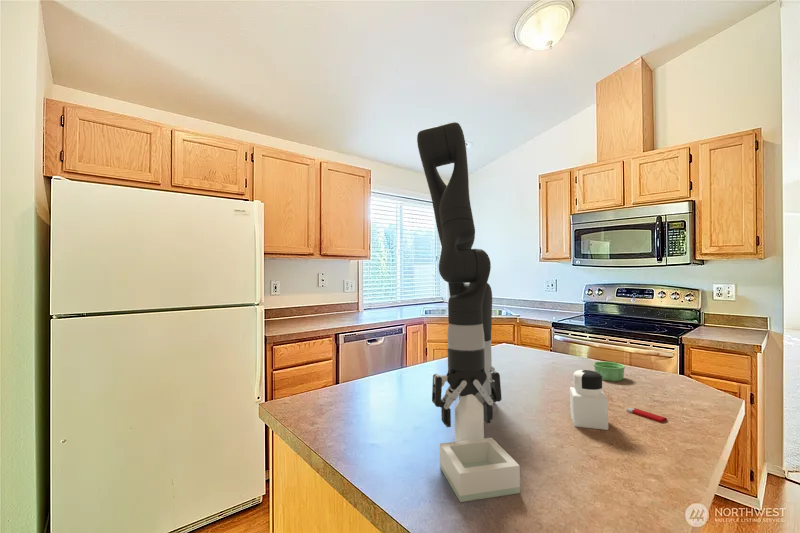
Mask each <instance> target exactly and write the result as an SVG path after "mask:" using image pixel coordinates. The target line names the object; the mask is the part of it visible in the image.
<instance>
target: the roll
mask: <svg viewBox="0 0 800 533" xmlns="http://www.w3.org/2000/svg"><path fill="white" fill-rule="evenodd" d="M484 423H485V421H484V409H483V405H482V403H480V401H478V399H477V398H476V397H475V396H474V395H473V394H471V395H466V396H461V398H460V400H459V399H458V401H457V403H456V405H455V408H454V438H455V439H454V440H455V441H454V442H458V441H466V440H475V439H483V438H485V430H484V428H485V427H484V426H485V425H484Z"/></svg>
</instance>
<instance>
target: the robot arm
mask: <svg viewBox="0 0 800 533" xmlns="http://www.w3.org/2000/svg"><path fill="white" fill-rule="evenodd" d="M416 140H417V141H416V142H417V143H416V144H417V148H418V153H419V157H420V161H421V164H422V167H423V168H422V169H423V172H424V176H425V179H426V182H427V186H428V189H429V193H430V194H429V195H430V197H431V198H430V199H431V202H432V207H433V212H434V218H435V224H436V228H437V233H438V238H439V241H440V245H441V248H440V250H441V251H440V254H439V256H440V257H439V262H438V273H439V275H440V277H441V278H442V280H443V281H445V282H446V283H448V290H449V291H448V292H449V298H448V302H447V306H448V307H447V310H448V312H447V313H448V317H447V318H448V321H447V322H448V325H447V334H446V336H447V339H446V340H447V373H446V375H445V374H443V375H442V374H441V375H440V374H438V373H434V374H433V375H432V389H431V390H432V391H431V401H432V403H433V404H434V406H436V407H437V408H439V407H440V408H441V411H440V412H441V415H440V416H441V422H442V423H443V425H445V427H446V428H451V426H452V421H451V420H452V419H451V418H452V415H451V414H452V412H451V408H450V407H452V406H451V405H453V403H454V401H456V400H457V398H458V401H459V400H460V398H461V396H466V395H471V394H473V395H474V396H475V397H476V398H477V399H478V401H480V403H482V405H483V409H484V423H485V424H490V423H491V421H492V420H493V417H494V411H493V409H494V408H493V405H494V404H495V403H496V402H501V401H502V389H501V388H502V387H501V374H500V373H499V372H498V371H496V370H495V367H494V366H493V365H492V361H493V360H492V359H493V358H492V357H493V355H492V354H493V353H492V327H493V326H492V325H493V324H492V323H493V321H492V320H493V318H492V315H493V292H492V287H491V285H490V283H489V282H488V281H489V278H490V274H491V268H492V266H491V260H490V257H489V254H488V253H487V252H486V251H485V250H483V249H481V248H473V246H474V243H475V239H476V238H475V237H476V227H475V222H474V216H473V210H472V206H471V199H470V189H469V188H470V187H469V185H470V184H469V167H468V155H467V146H466V139H465V134H464V132H463V129H462V126H461V124H460V123H458V122H456V121H452V122H447V123H444V124H439V125H435V126H432V127H427V128H423V129H421V130H420V131H419V132H418V133H417V136H416ZM451 164H453V169H452V174H451V176H450V179H449V181H448V183H447V184H446V183H445V182H444V180H443V179H442V177H441V175H440V173H439V171H438V168H437V167H443V166H446V165H451ZM445 383H448V385H449V386H448V388H447V389H446V391H445V393H444V395H443V396H442V391H443V389H442V388H443V387H444V385H445Z"/></svg>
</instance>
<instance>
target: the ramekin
mask: <svg viewBox="0 0 800 533" xmlns="http://www.w3.org/2000/svg"><path fill="white" fill-rule="evenodd" d="M593 367H594V371H595V372H597V373H599V374H600V375H601V376H602V381H609V382H620V381H623V380H624V375H625V365H624V364H622V363H618V362H614V361H603V360H602V361H595V362H593Z"/></svg>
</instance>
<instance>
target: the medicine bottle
mask: <svg viewBox="0 0 800 533" xmlns="http://www.w3.org/2000/svg"><path fill="white" fill-rule="evenodd" d="M569 398H570V399H569V402H570V403H569V404H570V406H569V407H570V408H569V410H570V417H571V420H572V425H573V426H574V428H575V427H577V428H585V429H595V430H601V431H602V430H604V431H607V430H609V400H608V397H607V396H606V394H605V393H604V391H603V380H602V376H601V375H600V374H599V373H597V372H595V370H590V369H589V370H588V369H578V370H576V371H574V373H573V386H570V387H569Z"/></svg>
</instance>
